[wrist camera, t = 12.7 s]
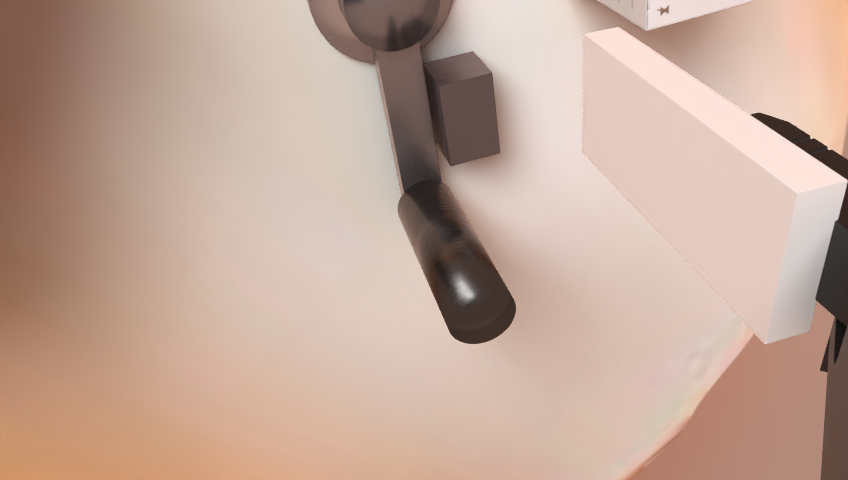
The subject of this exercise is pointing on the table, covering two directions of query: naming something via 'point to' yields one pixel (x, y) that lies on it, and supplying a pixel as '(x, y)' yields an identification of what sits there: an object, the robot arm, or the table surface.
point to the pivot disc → (343, 38)
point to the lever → (418, 163)
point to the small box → (666, 10)
